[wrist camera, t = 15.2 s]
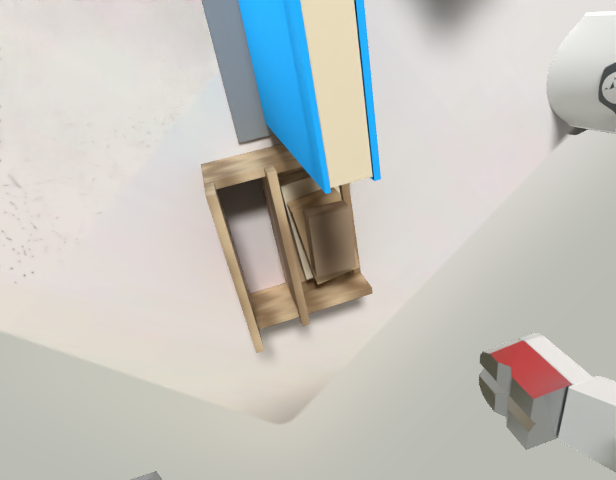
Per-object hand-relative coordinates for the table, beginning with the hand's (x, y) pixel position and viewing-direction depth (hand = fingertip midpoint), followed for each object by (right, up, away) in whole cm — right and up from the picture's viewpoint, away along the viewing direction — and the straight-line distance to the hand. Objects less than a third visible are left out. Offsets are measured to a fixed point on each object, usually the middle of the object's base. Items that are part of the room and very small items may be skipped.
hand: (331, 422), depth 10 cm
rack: (-3, +7, +46) cm, 46 cm away
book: (-5, +26, +35) cm, 44 cm away
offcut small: (+2, +5, +40) cm, 41 cm away
